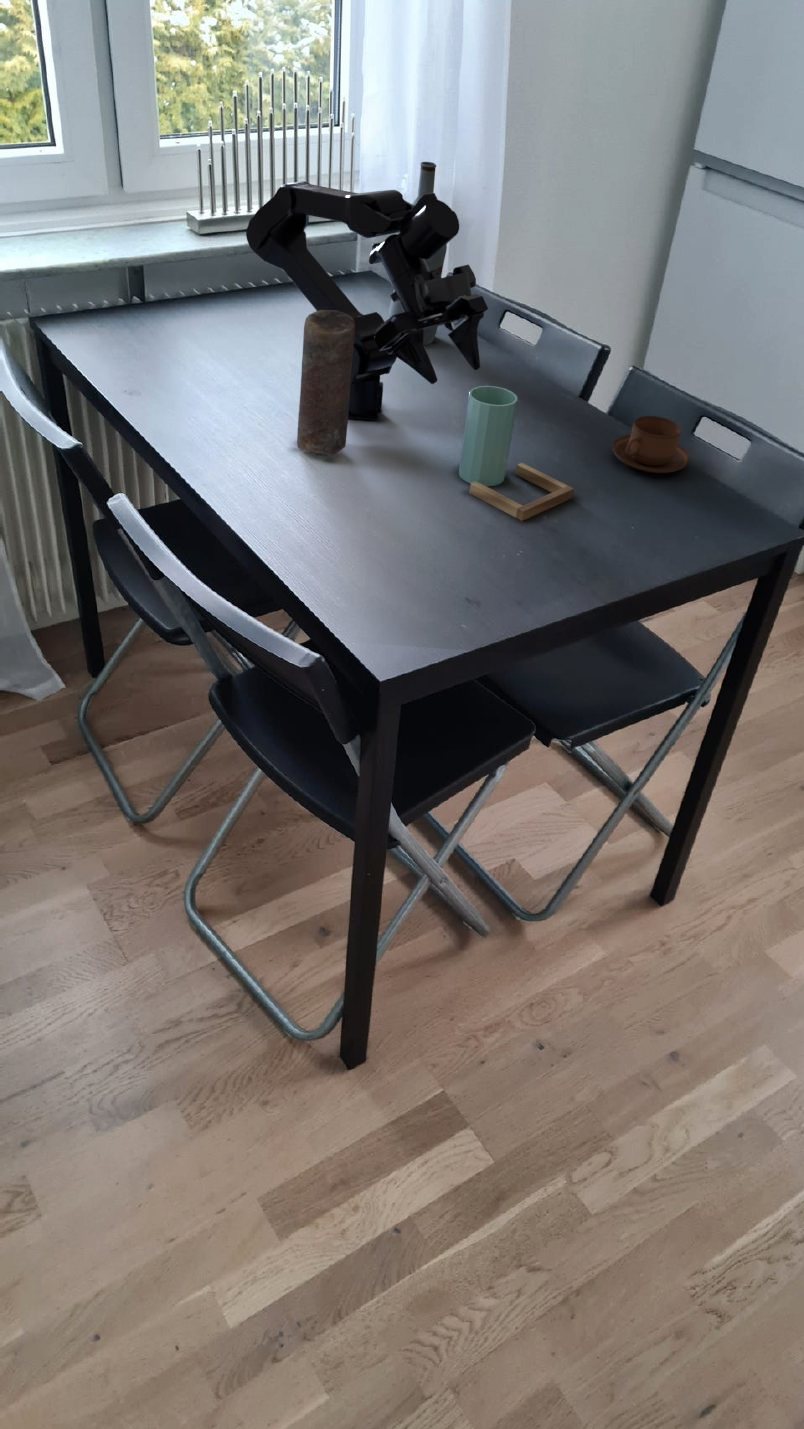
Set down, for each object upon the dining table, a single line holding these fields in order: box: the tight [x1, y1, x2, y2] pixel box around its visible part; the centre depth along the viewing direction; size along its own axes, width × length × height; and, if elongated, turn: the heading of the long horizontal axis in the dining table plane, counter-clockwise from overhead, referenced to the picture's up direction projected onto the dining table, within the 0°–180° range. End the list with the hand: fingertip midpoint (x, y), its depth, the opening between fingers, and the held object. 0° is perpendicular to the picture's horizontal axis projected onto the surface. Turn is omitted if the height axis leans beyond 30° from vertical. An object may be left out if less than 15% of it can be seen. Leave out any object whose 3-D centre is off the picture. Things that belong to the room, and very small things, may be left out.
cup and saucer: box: [612, 415, 690, 474], centre depth 173 cm, size 12×12×6 cm
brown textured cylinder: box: [296, 310, 355, 457], centre depth 162 cm, size 8×7×20 cm
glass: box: [458, 385, 519, 487], centre depth 162 cm, size 7×7×12 cm
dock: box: [468, 462, 575, 522], centre depth 162 cm, size 10×12×2 cm
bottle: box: [388, 161, 448, 346], centre depth 198 cm, size 9×9×30 cm
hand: (456, 375), depth 162 cm, fingers open, 9 cm apart
